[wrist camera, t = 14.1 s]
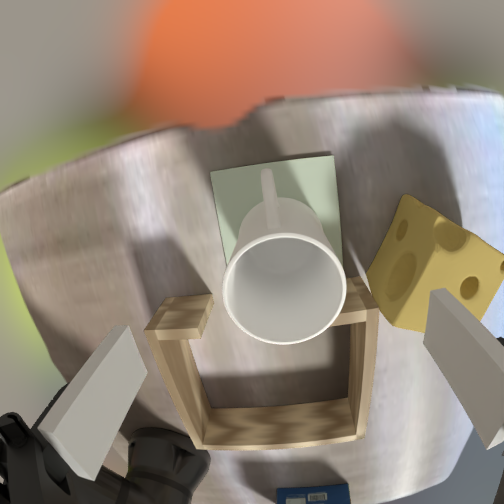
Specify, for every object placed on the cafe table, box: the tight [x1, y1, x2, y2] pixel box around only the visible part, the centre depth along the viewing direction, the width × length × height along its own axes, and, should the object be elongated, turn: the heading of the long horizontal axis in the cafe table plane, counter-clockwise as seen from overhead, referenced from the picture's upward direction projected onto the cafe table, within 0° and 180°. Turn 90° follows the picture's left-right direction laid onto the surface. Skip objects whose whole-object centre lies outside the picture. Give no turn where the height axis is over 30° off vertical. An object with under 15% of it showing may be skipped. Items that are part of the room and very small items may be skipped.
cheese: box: [366, 194, 504, 333], centre depth 26 cm, size 10×11×10 cm
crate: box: [144, 276, 379, 450], centre depth 33 cm, size 22×20×7 cm
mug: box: [222, 168, 346, 344], centre depth 24 cm, size 12×8×12 cm
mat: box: [210, 155, 343, 267], centre depth 30 cm, size 12×12×1 cm
